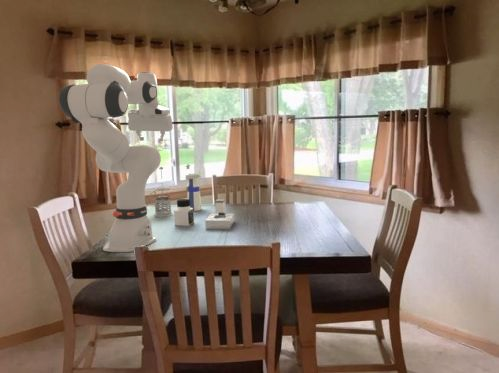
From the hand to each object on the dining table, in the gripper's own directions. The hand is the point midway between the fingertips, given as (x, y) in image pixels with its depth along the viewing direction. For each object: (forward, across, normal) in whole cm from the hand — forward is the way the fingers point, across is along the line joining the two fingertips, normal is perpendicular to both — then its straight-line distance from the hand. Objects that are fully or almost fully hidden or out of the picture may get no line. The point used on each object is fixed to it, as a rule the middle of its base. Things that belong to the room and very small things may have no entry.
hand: (151, 140), depth 187 cm
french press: (+42, -5, +17) cm, 45 cm away
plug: (+40, +27, +15) cm, 51 cm away
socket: (+38, +32, 0) cm, 50 cm away
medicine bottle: (+39, +14, 0) cm, 42 cm away
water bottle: (+43, +7, +31) cm, 53 cm away
